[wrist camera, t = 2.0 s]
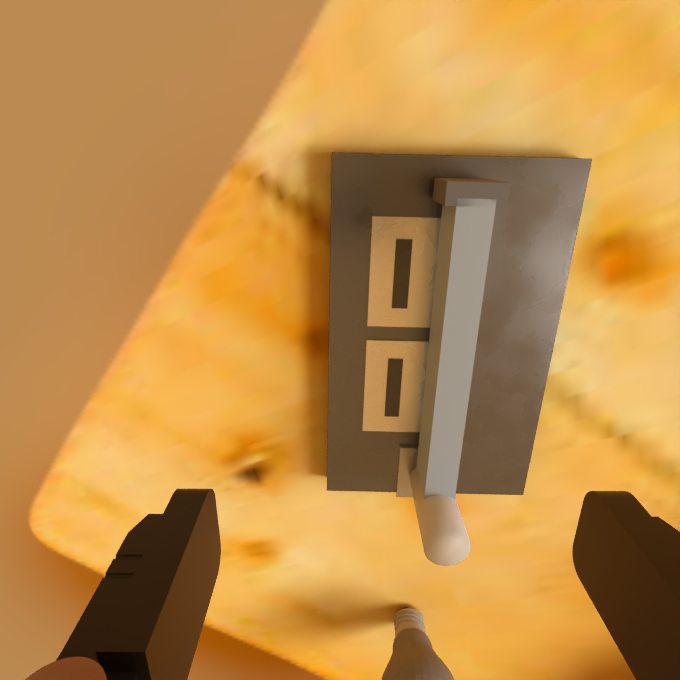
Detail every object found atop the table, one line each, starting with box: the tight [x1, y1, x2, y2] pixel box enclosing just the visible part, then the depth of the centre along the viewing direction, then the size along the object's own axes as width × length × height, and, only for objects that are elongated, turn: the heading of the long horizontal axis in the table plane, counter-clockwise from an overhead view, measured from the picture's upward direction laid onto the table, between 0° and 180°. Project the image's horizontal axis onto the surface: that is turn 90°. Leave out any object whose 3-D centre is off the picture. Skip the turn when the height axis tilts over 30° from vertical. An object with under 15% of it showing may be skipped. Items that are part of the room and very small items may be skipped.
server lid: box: [327, 153, 592, 497], centre depth 32 cm, size 24×15×2 cm, turn 179°
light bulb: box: [382, 608, 454, 680], centre depth 39 cm, size 6×6×10 cm
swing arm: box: [410, 178, 511, 566], centre depth 28 cm, size 22×3×7 cm, turn 179°
